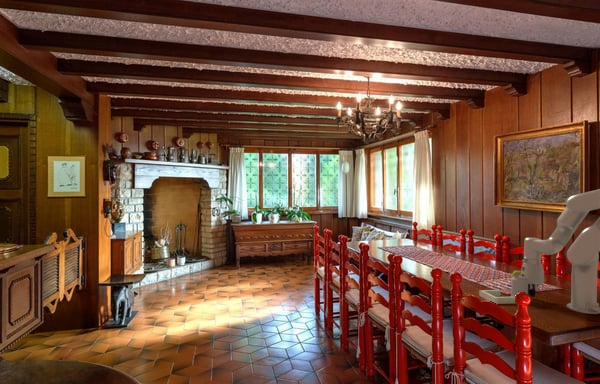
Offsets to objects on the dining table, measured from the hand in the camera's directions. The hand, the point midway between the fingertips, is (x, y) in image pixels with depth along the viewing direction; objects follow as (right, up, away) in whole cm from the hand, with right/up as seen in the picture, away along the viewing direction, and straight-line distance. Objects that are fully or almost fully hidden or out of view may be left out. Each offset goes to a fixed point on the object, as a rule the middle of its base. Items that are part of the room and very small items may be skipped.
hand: (531, 296), depth 186 cm
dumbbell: (+10, -1, +26) cm, 28 cm away
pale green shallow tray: (-19, -1, -2) cm, 19 cm away
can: (-7, -1, -1) cm, 7 cm away
